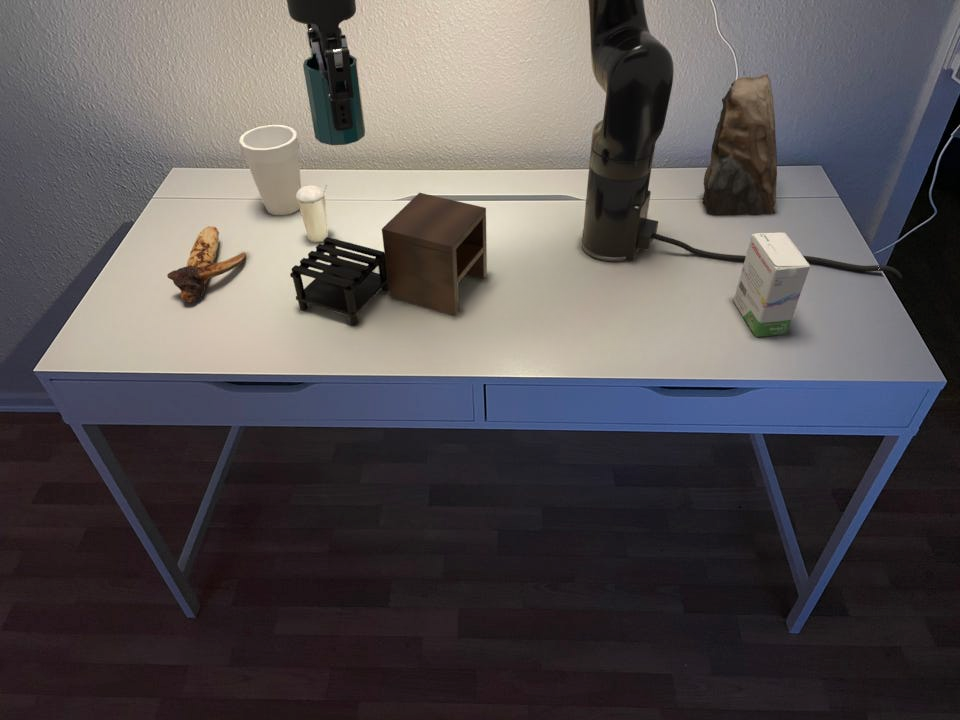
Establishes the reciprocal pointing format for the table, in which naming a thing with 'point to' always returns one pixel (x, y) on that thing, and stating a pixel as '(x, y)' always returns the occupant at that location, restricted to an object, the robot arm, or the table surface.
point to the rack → (340, 278)
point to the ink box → (770, 283)
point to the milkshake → (313, 212)
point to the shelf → (434, 251)
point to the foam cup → (274, 166)
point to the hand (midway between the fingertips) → (337, 117)
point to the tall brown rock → (743, 152)
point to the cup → (322, 106)
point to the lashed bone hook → (202, 265)
